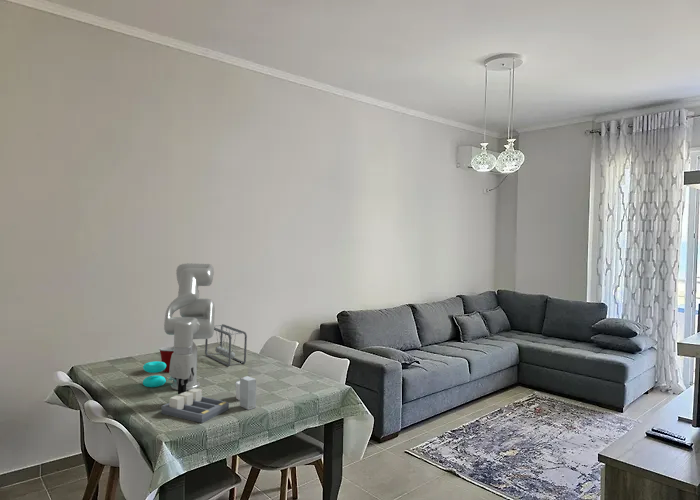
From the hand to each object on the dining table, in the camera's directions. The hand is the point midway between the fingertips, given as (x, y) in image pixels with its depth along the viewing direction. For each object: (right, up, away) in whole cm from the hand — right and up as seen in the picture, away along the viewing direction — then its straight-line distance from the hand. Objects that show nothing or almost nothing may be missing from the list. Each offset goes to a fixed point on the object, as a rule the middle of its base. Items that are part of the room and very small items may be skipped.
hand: (181, 393), depth 198 cm
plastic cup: (-22, -2, +44) cm, 49 cm away
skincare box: (+28, -5, -2) cm, 29 cm away
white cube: (+2, -2, -12) cm, 13 cm away
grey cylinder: (+24, -5, +8) cm, 26 cm away
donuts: (-21, -3, +22) cm, 30 cm away
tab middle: (+4, -2, -7) cm, 9 cm away
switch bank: (+9, -4, -9) cm, 13 cm away
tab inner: (+6, -2, -3) cm, 7 cm away
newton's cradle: (0, -2, +70) cm, 70 cm away
